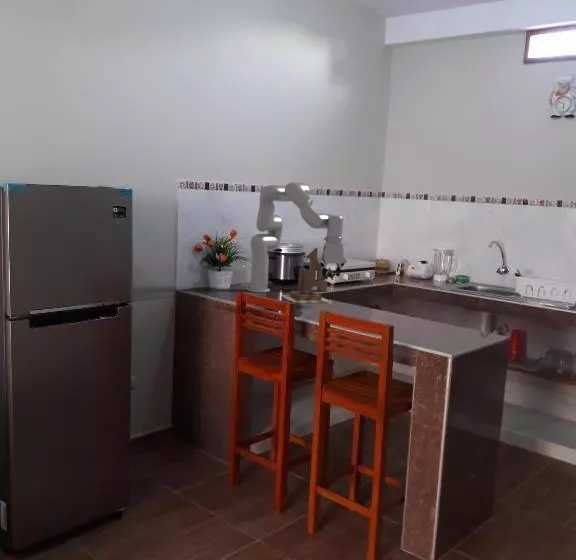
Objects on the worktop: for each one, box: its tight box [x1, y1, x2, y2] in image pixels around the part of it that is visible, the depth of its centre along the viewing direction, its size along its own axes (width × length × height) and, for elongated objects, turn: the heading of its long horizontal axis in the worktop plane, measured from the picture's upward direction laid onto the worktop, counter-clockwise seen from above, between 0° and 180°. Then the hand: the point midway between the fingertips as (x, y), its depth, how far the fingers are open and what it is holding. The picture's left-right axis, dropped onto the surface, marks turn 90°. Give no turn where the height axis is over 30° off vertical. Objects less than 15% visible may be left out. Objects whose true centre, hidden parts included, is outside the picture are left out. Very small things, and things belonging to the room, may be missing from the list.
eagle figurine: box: [321, 266, 339, 281], centre depth 319 cm, size 8×7×9 cm
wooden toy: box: [297, 247, 328, 293], centre depth 360 cm, size 16×7×25 cm, turn 108°
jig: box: [281, 290, 330, 304], centre depth 331 cm, size 20×18×4 cm
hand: (330, 275), depth 317 cm, fingers closed on eagle figurine, 6 cm apart
